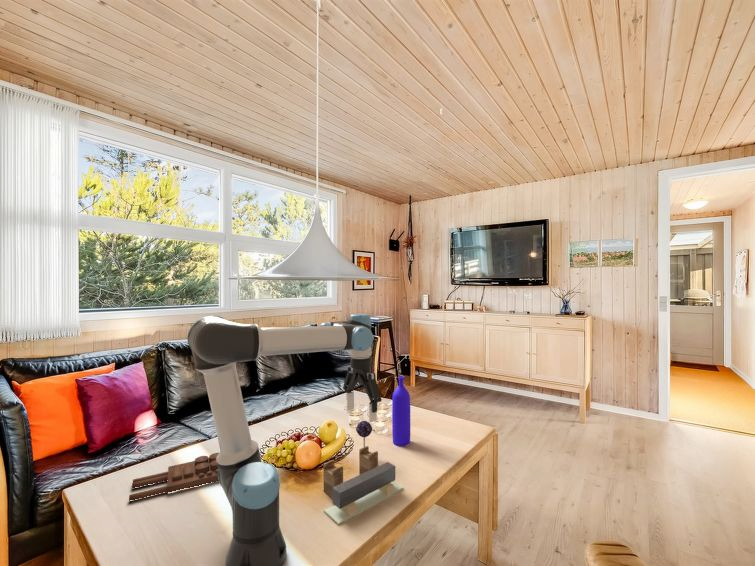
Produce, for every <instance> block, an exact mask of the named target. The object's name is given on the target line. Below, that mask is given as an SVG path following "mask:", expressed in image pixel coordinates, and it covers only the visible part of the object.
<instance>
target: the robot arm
mask: <svg viewBox="0 0 755 566" xmlns="http://www.w3.org/2000/svg"><path fill="white" fill-rule="evenodd" d="M186 337H187V338H186V339H187V344H188V346H189V348H190V349H191V353H192V357H193V361H194V365H195V370H196V371H198V372H199V373H202V374H203V378H204V383H205V387H206V391H207V396H208V401H209V404H210V410H211V414H212V415H211V416H212V418H213V419H212V420H213V422H214V428H215V432H216V437H217V441H218V446H219V450H220V452H218V453H219V454H218V456H217V458H216V461H217V466H218V479H219V482H218V483H219V485H220V487H221V488H222V490H223V492H224V494H225V496H226V499H227V501H228V503H229V505H230V508H231V512H232V538H231V541H230V544H229V548H228V550H227V554H226V556H225V566H282V565H285V561H286V558H287V544H286V540H285V538H284V535H283V533H282V530H281V527H280V489H281V488H280V487H281V482H280V476H279V472H278V470H277V468H276V467H275V466H274V465H272V464H271V463H266V462H263V461H262V457H261V452H260V448H259V444H258V442H257V441H256V440H253V439H252V437H251V433H250V431H251V430H250V427H249V422H248V417H247V412H246V408H245V402H244V399H243V398H244V397H243V393H242V389H241V385H240V384H241V383H240V379H239V375H238V370H237V363H243V362H251V361H257V360H258V359H259V358H260V357H266V356H268V357H269V356H281V355H282V356H283V355H291V354H292V355H295V354H307V353H308V354H309V353H318V352H320V353H321V352H322V353H323V352H330V351H332V352H333V351H349V350H350V353H349V354H350V366H349V367H347V369H346V370H347V371H346V372H347V373H346V376H345V380H344V383H343V386H342V389H343V390H344V391H345V393H346V411H347V412H350V411H353V410H355V392H354V390H355V388H356V386H357V384H358V383H359V384H361V386H362V387H363V388H364V390H365V392H366V395H367V397H368V399H369V402H368V415H369V416H368V418H369V419H368V422H369V423H372V422H376V421H378V420H377V419H378V417H377V416H378V415H377V414H378V413H377V412H378V403H380V402H382V396H381V393H380V389H379V385H378V382H377V379H376V378H377V377H376V372H373V373H372V372H370V369H371V367H372V357H371V356H372V345H373V343H374V335H373V332H372V319H371V316H370V315H369V314H368V313H353V314H350V316H349V320H342V321H328V322H323V323H320V325H315V326H314V325H313V326H312V325H311V326H281V327H280V326H274V327H259V325H258V324H256V323H242V322H235V321H232V320H228V319H226V318H224V317H222V316H219V315H209V316H204V317H201V318H199V319H197V320H196V321H195V322H194V323H193V324H192V325H191V327H190V328H189V331H188V332H187V336H186Z"/></svg>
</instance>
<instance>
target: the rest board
mask: <svg viewBox="0 0 755 566" xmlns="http://www.w3.org/2000/svg"><path fill="white" fill-rule="evenodd" d="M402 490H404V487H403V486H402V485H401V484H399V483H397V482H396V481H393V482H391V483H389V484H387V485H385V486H383V487H381V488H379V489H378V490H376V491H374V492H372V493H370V494H368V495H366V496H364V497H362V498H360V499H358V500H356V501H354V502H353V503H351V504H349V505H347V506H345V507H343V508H341V509H339V508H338V507H337V506H335V505H334V504H333V505H332V506H330V507H328V508H326V509H324V510H323V513H324V514H325V515H327V517H328V518H329V519H331V520H332V521H333V522H335V524H336V525H337V526H339V525H341V524H343V523H345V522H347V521H349V520H350V519H352V518H354V517H356V516H357V515H359V514H361V513H362V512H365V511H366V510H368V509H370V508H372V507H374V506H376V505H377V504H380V503H381V502H382V501H385V500H386V499H388V498H390V497H392V496H393V495H395V494H397V493H399V492H401V491H402Z"/></svg>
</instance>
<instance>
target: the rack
mask: <svg viewBox="0 0 755 566" xmlns="http://www.w3.org/2000/svg"><path fill="white" fill-rule="evenodd" d="M358 453H359V459H358V460H359V465H358V466H359V475H360V474H363V473H365V472H367V471H369V470H371V469H373V468H376V467H378V466H379V451H377V450H375V451H374V452H371V451H370V450H369V446H368V445H365V447H364V446H363V447H361V448H359V452H358ZM343 482H344V466H343V465H341V466H338V467H337V466H335V460H334V459H331V460H329V461H327V462H324V463H323V492H324V493H325V494H326V495H328V496H329V497H330V498H331V499H332V500H333V487H335V486H337V485H339V484H341V483H343Z"/></svg>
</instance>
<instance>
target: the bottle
mask: <svg viewBox="0 0 755 566" xmlns="http://www.w3.org/2000/svg"><path fill="white" fill-rule="evenodd" d="M397 378H398V386H397V387H396V388H395V390H394V391H393V392H392V400H391V402H392V403H391V405H392V407H391V413H392V414H391V415H392V416H391V417H392V418H391V421H392V422H391V427H392V430H391V431H392V433H391V434H392V443H393V445H395V446H397V447H406V445H407V446H409V445H410V443H411V395H410V394H411V393H410V392H409V390H408V389H407V388H406V387H405V385H404V379H405V376H403V375H402V376H401V375H400V376H398V377H397ZM408 444H409V445H408Z"/></svg>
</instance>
